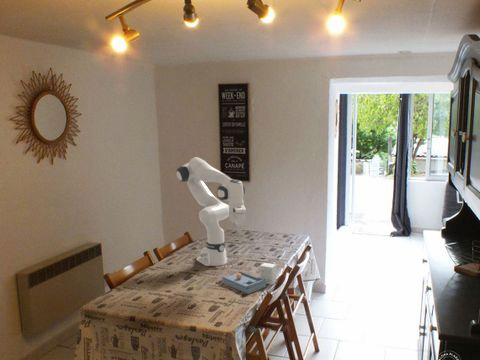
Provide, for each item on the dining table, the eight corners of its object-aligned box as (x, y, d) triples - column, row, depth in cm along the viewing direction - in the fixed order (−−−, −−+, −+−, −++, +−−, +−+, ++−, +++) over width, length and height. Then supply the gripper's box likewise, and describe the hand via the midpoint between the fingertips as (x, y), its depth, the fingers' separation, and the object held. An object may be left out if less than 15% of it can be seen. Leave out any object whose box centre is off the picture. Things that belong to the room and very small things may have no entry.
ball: (235, 278, 246) (235, 273, 246) (239, 277, 248) (239, 272, 248) (238, 280, 244) (238, 275, 243) (243, 278, 246) (242, 273, 245)
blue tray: (222, 282, 247) (222, 275, 246) (240, 276, 256) (239, 269, 255) (248, 293, 231) (248, 286, 230) (266, 286, 240) (265, 279, 239)
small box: (276, 281, 247) (276, 264, 245) (272, 285, 242) (272, 267, 241) (264, 279, 251) (264, 262, 250) (260, 282, 246) (260, 265, 245)
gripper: (225, 204, 255) (226, 227, 257) (236, 211, 236) (237, 235, 238) (235, 203, 257) (236, 226, 259) (247, 210, 238) (247, 233, 240)
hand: (236, 230), depth 248 cm, fingers open, 8 cm apart
